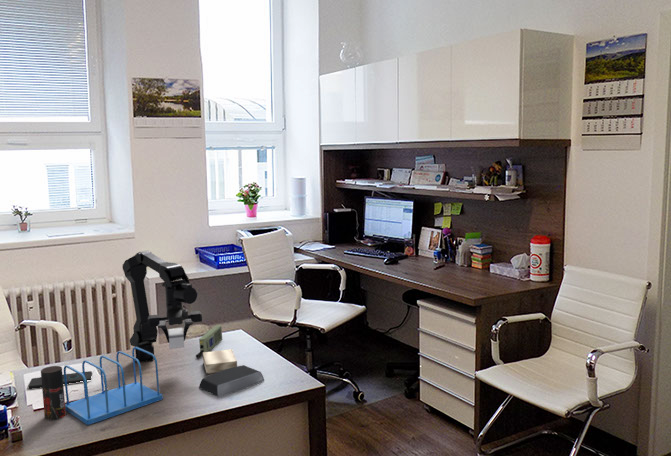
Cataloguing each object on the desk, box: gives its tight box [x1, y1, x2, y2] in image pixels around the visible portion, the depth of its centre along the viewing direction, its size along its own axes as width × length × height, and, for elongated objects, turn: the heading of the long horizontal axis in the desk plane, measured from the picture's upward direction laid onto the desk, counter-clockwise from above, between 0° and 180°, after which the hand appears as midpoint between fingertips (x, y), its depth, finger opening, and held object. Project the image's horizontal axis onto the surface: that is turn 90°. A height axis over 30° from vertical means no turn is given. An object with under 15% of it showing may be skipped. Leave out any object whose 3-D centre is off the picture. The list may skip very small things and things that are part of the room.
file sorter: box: [63, 346, 164, 426], centre depth 196 cm, size 25×17×15 cm
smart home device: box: [28, 370, 93, 390], centre depth 218 cm, size 8×2×20 cm
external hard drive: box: [198, 364, 265, 398], centre depth 212 cm, size 13×19×4 cm
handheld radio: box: [195, 324, 223, 359], centre depth 251 cm, size 7×3×25 cm
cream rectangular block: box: [202, 348, 238, 376], centre depth 229 cm, size 11×14×4 cm
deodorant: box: [40, 365, 67, 421], centre depth 189 cm, size 6×6×15 cm
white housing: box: [167, 327, 185, 350], centre depth 223 cm, size 5×8×5 cm, turn 16°
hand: (176, 341), depth 223 cm, fingers closed on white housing, 5 cm apart
